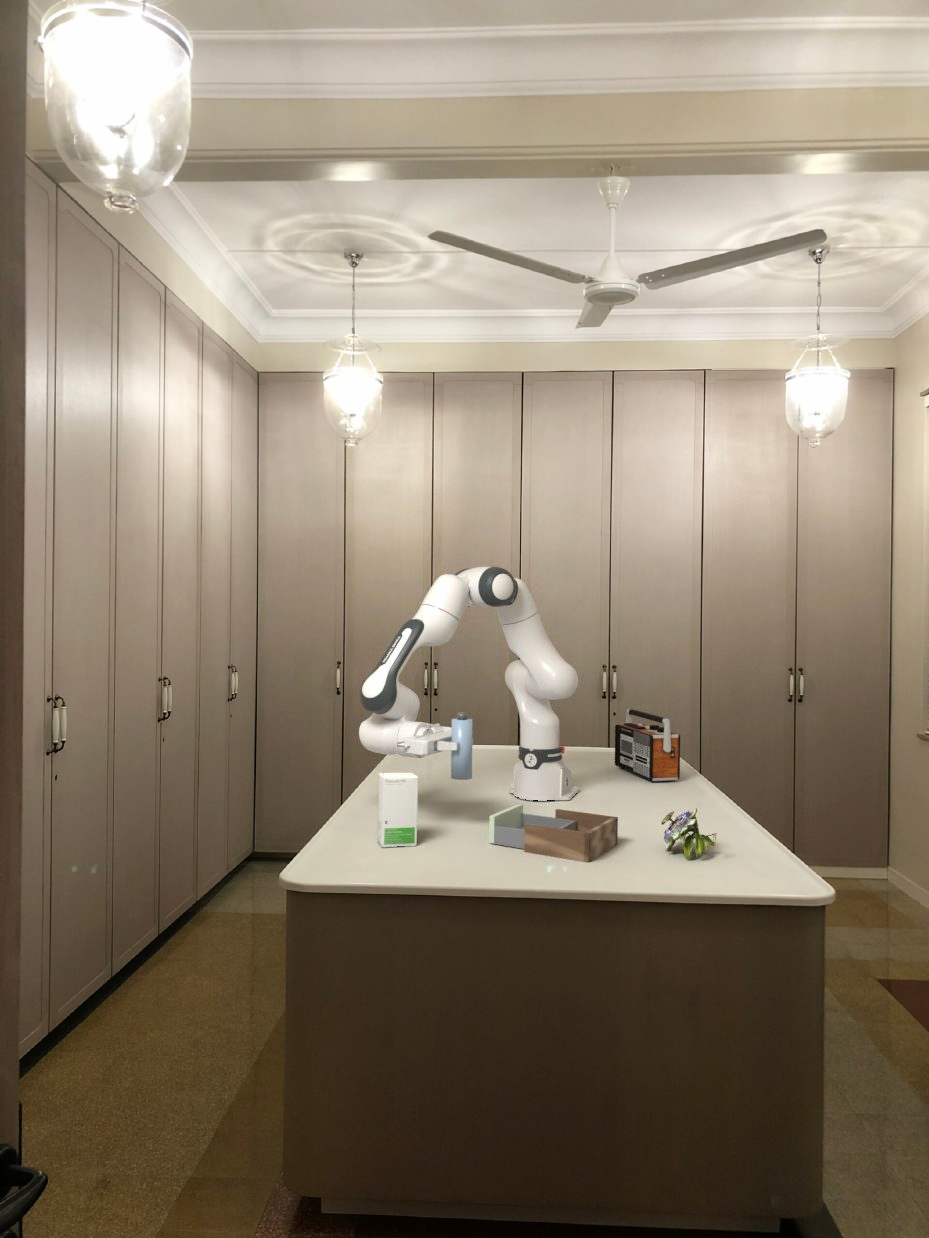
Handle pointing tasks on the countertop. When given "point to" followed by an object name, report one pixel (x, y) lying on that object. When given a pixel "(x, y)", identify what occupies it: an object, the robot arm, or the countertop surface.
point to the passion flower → (681, 829)
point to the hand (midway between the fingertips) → (465, 744)
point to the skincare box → (397, 809)
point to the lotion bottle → (462, 747)
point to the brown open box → (573, 836)
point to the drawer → (520, 825)
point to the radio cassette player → (647, 748)
